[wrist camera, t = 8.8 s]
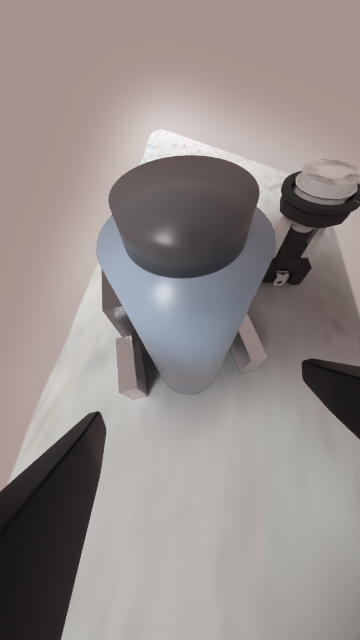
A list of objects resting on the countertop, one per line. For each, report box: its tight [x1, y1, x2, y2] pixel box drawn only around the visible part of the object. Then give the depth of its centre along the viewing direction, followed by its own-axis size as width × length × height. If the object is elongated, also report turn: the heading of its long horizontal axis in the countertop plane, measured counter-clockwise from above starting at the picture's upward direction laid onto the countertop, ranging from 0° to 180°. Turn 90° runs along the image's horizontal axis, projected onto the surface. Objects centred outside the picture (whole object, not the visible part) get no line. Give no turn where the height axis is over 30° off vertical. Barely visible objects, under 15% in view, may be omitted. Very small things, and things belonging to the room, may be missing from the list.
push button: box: [262, 159, 360, 286], centre depth 17 cm, size 7×5×10 cm
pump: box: [96, 155, 276, 395], centre depth 11 cm, size 5×5×14 cm
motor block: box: [102, 270, 268, 400], centre depth 15 cm, size 9×10×8 cm
